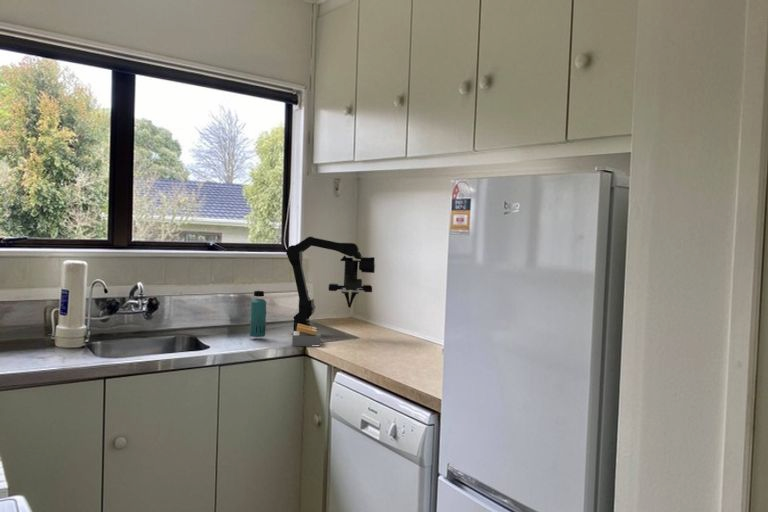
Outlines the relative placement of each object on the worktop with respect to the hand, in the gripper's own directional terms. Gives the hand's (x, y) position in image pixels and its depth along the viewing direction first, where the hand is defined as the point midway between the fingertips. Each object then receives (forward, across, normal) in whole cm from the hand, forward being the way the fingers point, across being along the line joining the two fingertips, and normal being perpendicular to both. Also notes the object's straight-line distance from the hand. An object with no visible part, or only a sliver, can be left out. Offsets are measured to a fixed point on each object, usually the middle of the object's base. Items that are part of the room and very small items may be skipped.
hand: (349, 307), depth 251 cm
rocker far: (+7, -18, -13) cm, 23 cm away
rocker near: (+7, -18, -19) cm, 27 cm away
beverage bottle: (+13, -38, -9) cm, 41 cm away
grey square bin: (+13, -18, -16) cm, 27 cm away
